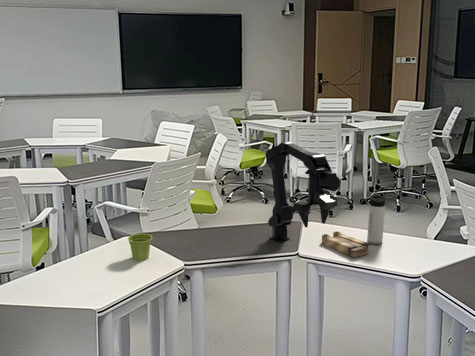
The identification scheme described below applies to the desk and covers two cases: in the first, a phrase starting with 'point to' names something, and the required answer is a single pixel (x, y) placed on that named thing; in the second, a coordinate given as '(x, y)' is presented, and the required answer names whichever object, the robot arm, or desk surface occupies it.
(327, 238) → the hinged leg
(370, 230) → the travel mug
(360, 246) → the tan rectangular beam
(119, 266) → the desk surface
